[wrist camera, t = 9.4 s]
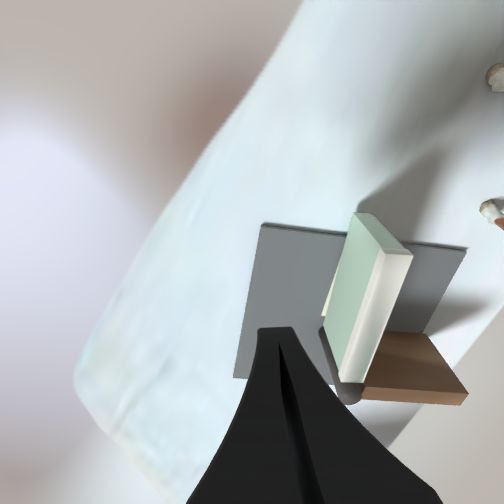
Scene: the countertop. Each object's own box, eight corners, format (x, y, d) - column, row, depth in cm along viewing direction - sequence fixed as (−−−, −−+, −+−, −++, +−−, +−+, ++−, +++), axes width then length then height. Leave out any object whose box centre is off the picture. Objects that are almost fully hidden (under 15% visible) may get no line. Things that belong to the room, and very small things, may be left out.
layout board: (389, 385, 28) (390, 389, 28) (233, 374, 27) (233, 378, 26) (463, 250, 22) (467, 252, 21) (261, 225, 20) (261, 227, 20)
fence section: (419, 346, 26) (463, 412, 21) (316, 337, 25) (336, 404, 20) (426, 333, 25) (473, 398, 20) (320, 323, 24) (343, 389, 19)
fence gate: (339, 325, 24) (363, 382, 19) (321, 324, 24) (340, 382, 19) (373, 213, 19) (413, 255, 15) (351, 212, 19) (385, 253, 15)
